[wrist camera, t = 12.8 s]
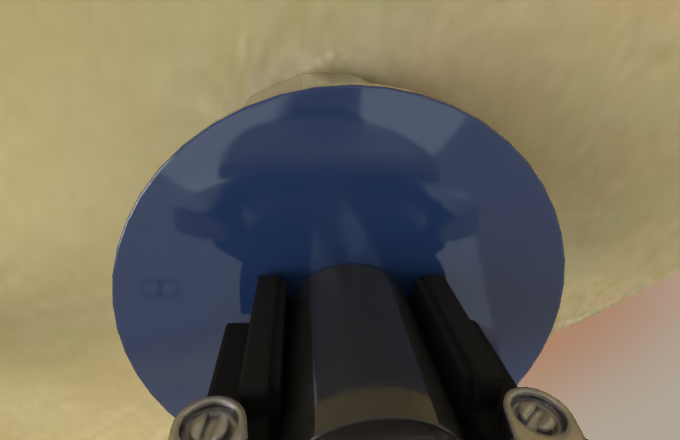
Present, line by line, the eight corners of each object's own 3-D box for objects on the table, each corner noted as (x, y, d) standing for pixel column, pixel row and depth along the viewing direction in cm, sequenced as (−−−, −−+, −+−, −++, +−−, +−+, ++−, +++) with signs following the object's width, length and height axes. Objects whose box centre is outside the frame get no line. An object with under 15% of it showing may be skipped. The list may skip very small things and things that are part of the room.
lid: (91, 393, 14) (-59, 644, 8) (195, -12, 9) (32, -90, 4) (427, 467, 17) (493, 688, 11) (626, 183, 12) (904, 307, 7)
